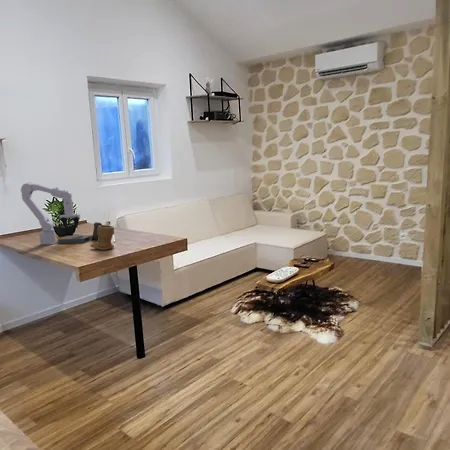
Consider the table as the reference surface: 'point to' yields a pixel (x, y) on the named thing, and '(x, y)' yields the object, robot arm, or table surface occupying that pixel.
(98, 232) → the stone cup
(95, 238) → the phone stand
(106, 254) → the table surface
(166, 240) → the table surface
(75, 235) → the steel peg
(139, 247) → the table surface
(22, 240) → the table surface
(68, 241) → the square hole plate
